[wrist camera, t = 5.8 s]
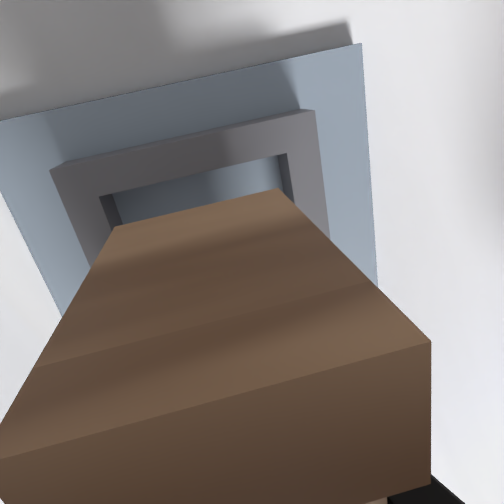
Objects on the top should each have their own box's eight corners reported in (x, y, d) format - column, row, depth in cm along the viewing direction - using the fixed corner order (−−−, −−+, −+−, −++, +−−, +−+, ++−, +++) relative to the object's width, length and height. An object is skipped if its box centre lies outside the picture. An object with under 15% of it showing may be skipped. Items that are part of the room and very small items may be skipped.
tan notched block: (114, 226, 9) (-24, 465, 3) (277, 187, 9) (431, 341, 3) (227, 526, 14) (255, 833, 8) (331, 496, 14) (429, 771, 8)
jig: (353, 45, 12) (385, 34, 10) (382, 430, 19) (403, 466, 17) (-21, 126, 11) (-64, 131, 9) (156, 495, 19) (153, 541, 17)
